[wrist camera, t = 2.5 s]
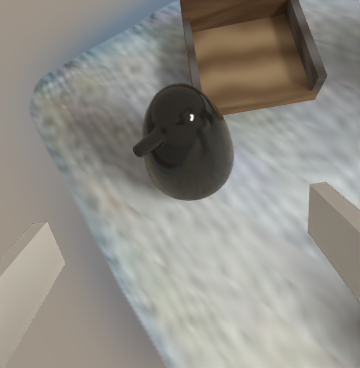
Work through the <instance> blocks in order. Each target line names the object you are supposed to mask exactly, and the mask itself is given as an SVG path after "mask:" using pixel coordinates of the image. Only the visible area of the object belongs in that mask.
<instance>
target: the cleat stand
mask: <svg viewBox="0 0 360 368" xmlns="http://www.w3.org/2000/svg"><path fill="white" fill-rule="evenodd" d="M180 5H181V13H182V20H183V27H184V35H185V42H186V48H187V54H188V61H189V67H190V74H191V80H192V86H194V87H196V88H198V89H199V90H201V91H202V92H203V93H205V94H206V95H207V96H208V97H209V98H210V99H211V100H212V101H213V102H214V104H215V105H216V106H217V108H218V109H219V111H220V112H221V114H222V115H226V114H232V113H238V112H244V111H249V110H255V109H261V108H267V107H273V106H279V105H285V104H290V103H296V102H302V101H308V100H314V99H315V98H316V96H317V94H318V92H319V90H320V88H321V87H322V85H323V83H324V81H325V79H326V77H327V74H326V71H325V68H324V66H323V63H322V61H321V58H320V55H319V53H318V50H317V48H316V45H315V42H314V40H313V37H312V35H311V32H310V29H309V27H308V24H307V21H306V19H305V16H304V14H303V11H302V8H301V6H300V3H299V1H298V0H180Z"/></svg>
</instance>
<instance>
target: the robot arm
mask: <svg viewBox="0 0 360 368" xmlns="http://www.w3.org/2000/svg"><path fill="white" fill-rule="evenodd" d="M308 233H309V235H310V236H311V237H312V239H313V240H314V241H315V243H316V244H317V245H318V247H319V248H320V249H321V251H322V252H323V254H324V255H325V256H326V258H327V259H328V260H329V262H330V263H331V264H332V266H333V267H334V268H335V270H336V271H337V272H338V274H339V275H340V277H341V278H342V279H343V281H344V282H345V283H346V285H347V286H348V287H349V289H350V290H351V291H352V293H353V294H354V296H355V297H356V298H357V300H358V301H359V302H360V210H359V209H358V208H357V207H356V206H354V205H353V204H352V203H351V202H350V201H348V200H347V199H346V198H345V197H344V196H342V195H341V194H340V193H339V192H338V191H336V190H335V189H334V188H333V187H332V186H330V185H329V184H328V183H327V182H324V183H317V184H310V192H309V218H308ZM64 265H65V262H64V260H63V257H62V255H61V253H60V250H59V248H58V246H57V243H56V241H55V239H54V236H53V234H52V232H51V230H50V227H49V225H48V223H47V222H41V223H33V224H32V225H31V226H30V227H29V228H28V229H27V230H26V231H25V233H24V234H23V235H22V236H21V237H20V238H19V239H18V240H17V241H16V242H15V243H14V245H13V246H12V247H11V248H10V249H9V250H8V251H7V252H6V253H5V254H4V255H3V256H2V257H1V259H0V368H5V366H6V364H7V363H8V361H9V359H10V358H11V356H12V354H13V352H14V351H15V349H16V347H17V345H18V344H19V342H20V340H21V339H22V337H23V335H24V334H25V332H26V330H27V328H28V327H29V325H30V323H31V322H32V320H33V318H34V316H35V315H36V313H37V311H38V309H39V308H40V306H41V304H42V303H43V301H44V299H45V297H46V296H47V294H48V292H49V290H50V289H51V287H52V285H53V284H54V282H55V280H56V279H57V277H58V275H59V273H60V271H61V270H62V268H63V266H64Z"/></svg>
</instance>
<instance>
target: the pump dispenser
mask: <svg viewBox="0 0 360 368" xmlns="http://www.w3.org/2000/svg"><path fill="white" fill-rule="evenodd" d="M133 152H134V154H135V155H136V156H137V157H144V162H145V165H146V169H147V171H148V174H149V176H150V178H151V180H152V181H153V183H154V184H155V185H156V187H157V188H158V189H159V190H161V191H162V192H163V193H164V194H166V195H168V196H170V197H172V198H175V199H179V200H186V201H192V200H199V199H203V198H206V197H208V196H210V195H212V194H214V193H215V192H216V191H218V190H219V189H220V188H221V187H222V186H223V185H224V184H225V183H226V181H227V180H228V178H229V176H230V174H231V171H232V168H233V162H234V150H233V144H232V139H231V135H230V132H229V129H228V126H227V124H226V121H225V119H224V117H223V115H222V114H221V112H220V111H219V109H218V108H217V106H216V105H215V104H214V102H213V101H212V100H211V99H210V98H209V97H208V96H207V95H206V94H205V93H203V92H202V91H201V90H199V89H198V88H196V87H194V86H191V85H188V84H181V83H179V84H172V85H169V86H167V87H165V88H163V89H161V90H160V91H159V92H158V93H157V94H156V95H155V96H154V97H153V99H152V100H151V102H150V104H149V106H148V108H147V110H146V113H145V117H144V121H143V129H142V140H141V141H140V142H139V143H137V144H136V145H135V146H134V147H133Z"/></svg>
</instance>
